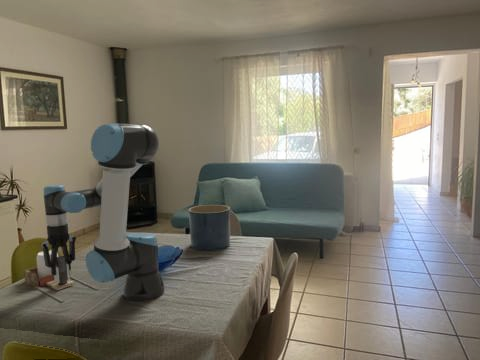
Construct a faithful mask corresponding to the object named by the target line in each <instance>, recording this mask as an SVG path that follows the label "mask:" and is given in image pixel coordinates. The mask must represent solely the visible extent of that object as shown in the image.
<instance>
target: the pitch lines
mask: <svg viewBox="0 0 480 360" xmlns="http://www.w3.org/2000/svg"><path fill="white" fill-rule="evenodd" d="M69 276H70V279H72V280H74V281H76V282H79V283H81V284H82V285H85V286H87V287H89V288H92V289H93V290H96V291H97V290H99V287H97V286H94V285H92V284H90V283H88V282H85V281H83V280H81V279H79V278H77V277H74V276H72V275H71V274H70V275H69ZM34 288H35V289H37V290H39V291H41V292H42V293H44V294H46V295H48V296H49V297H51V298H53V299H54V300H56V301H58V302H60V303H64V302H65V301H64V299H62V298H60V297H58V296H57V295H55V294H52V293H51V292H49V291H47V290H45V289H44V288H42V287H41V286H39V285H38V286H35V287H34Z"/></svg>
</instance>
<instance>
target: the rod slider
mask: <svg viewBox="0 0 480 360" xmlns="http://www.w3.org/2000/svg"><path fill="white" fill-rule="evenodd" d="M56 266H57V267H58V270H59V281H60V283H56V282H55V281H54V275H48V276H45V277H42V278H39V279H40V281H39V287H44V286H48V287H50V288H52V289H54V290H56V291H59V290H63V289H65V288H68V287H71V286H74V285H75V282H74V281H72V280H71V279H69V280H67V273H66V261H65V256H64V255H58V257H57V262H56ZM39 279H38V280H39Z"/></svg>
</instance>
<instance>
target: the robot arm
mask: <svg viewBox="0 0 480 360" xmlns="http://www.w3.org/2000/svg"><path fill="white" fill-rule="evenodd" d="M159 144H160V142H159V137H158V135H157V133H156V131H155V130H154V129H153V128H152V127H150V126H149V125H147V124H143V123H113V122H112V123H106V124H101V125H100V126H98V127H97V128H96V129H95V130H94V132H93V133H92V136H91V140H90V150H91V152H92V156H93V158H94V159H95V160H96V161H97V164H98V166H99V167H100V168H101V169H102V177H101V179H100V180H99V182H98V183H97V184H96V185H94V187H93V188H88V189H80V190H75V191H66V188H65V186H64V185H63V184H52V185H46V186H44V188H43V195H42V196H43V202H44V211H45V222H46V235H47V238H46V241H44V242H41V243H40V247H41V249H42V251H43V254H44V260H45V265H46V266H47V267H49V268H50V267H51V273H52V275H54V281H55V282H56V283H60V281H59V270H58V267H57V266H56V262H57V253H58V252H59V251H58V250H59V248H61V252H62V254H63V255H62V256H65V261H66V273H67V280H71V278H70V276H71V275H70V276H69V271H70V272H71V269H72V266H71V264H73V261H75V260H76V244H75V243H76V240H77V237H76V236H73V235H70V233H69V224H68V221H69V220H68V214H67V213H70V214H77V213H78V214H79V213H81V212H82V211H83V210H87V209H91V208H92V209H93V208H98V207H100V215H99V232H98V233H99V234H98V237H97V238H96V239H95V240H94V242H93V250H90V251H88V252H87V253H86V255H85V266H86V269H87V271H88V273H89V275H90V277H91V278H92V279H93V280H94V281H96V282H98V283H101V284H105V283H108V282H113V281H114V280H117V279H119V278H122V277H123V276H126V275H127V276H126V279H125V284H124V288H123V297H124V299H126V300H127V301H131V302H145V301H146V302H148V301H150V300H154V299H157V298H159V297H160V296H162V295H163V294H164V293H165V283H164V281H163V278H162V276H161V273H160V271H159V269H160V267H159V249H158V247H159V244H158V239H157V238H158V237H157V236H156V235H154V234H153V233H147V232H134V233H131V232H130V233H128V234H127V225H128V223H127V222H128V211H129V209H128V208H129V198H130V197H129V195H130V183H131V177H132V176H134V175H135V173H136V172H137V171H138V170H139V169H140V168H141V167H142V166H143V165H147V164H149V162H151V160H153V158H155V155H156V154H157V152H158V149H159V146H160V145H159ZM67 243H69V244H67ZM49 245H50V249H49ZM68 246H69V248H68ZM49 250H52V251H51V261H50V255H49Z"/></svg>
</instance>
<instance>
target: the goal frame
mask: <svg viewBox="0 0 480 360" xmlns="http://www.w3.org/2000/svg"><path fill="white" fill-rule="evenodd" d="M23 274H24V283H27V284H29V285H30V286H32V287H34V288H35V286H38V287H39V279H38V268H37V266H34V267H30V268H27V269H24V270H23ZM69 275H70V276H71V270H70V271H69Z"/></svg>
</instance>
